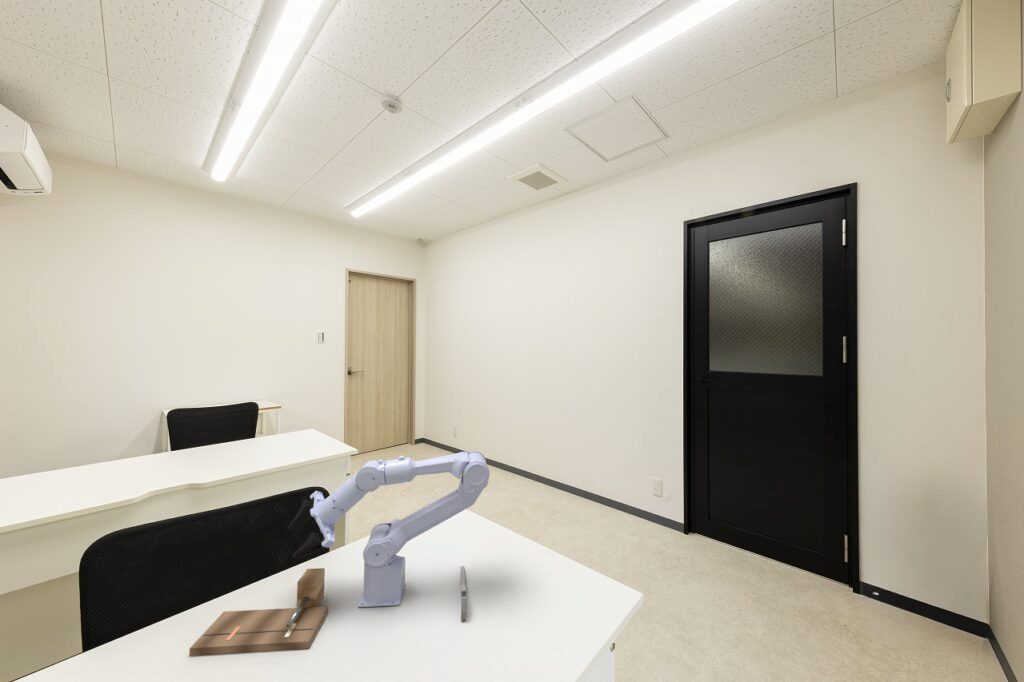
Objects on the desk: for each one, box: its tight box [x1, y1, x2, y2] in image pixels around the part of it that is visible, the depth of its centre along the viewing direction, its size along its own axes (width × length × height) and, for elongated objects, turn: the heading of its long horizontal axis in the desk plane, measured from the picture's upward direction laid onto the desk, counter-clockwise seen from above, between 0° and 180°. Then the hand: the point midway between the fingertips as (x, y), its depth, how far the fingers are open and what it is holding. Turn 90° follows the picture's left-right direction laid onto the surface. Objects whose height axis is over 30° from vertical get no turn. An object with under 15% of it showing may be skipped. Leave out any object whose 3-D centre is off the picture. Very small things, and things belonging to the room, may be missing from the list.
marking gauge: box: [287, 567, 326, 630], centre depth 83 cm, size 4×13×7 cm, turn 6°
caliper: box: [460, 565, 467, 622], centre depth 93 cm, size 20×1×6 cm, turn 8°
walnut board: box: [188, 605, 329, 657], centre depth 78 cm, size 22×10×2 cm, turn 96°
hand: (293, 543), depth 87 cm, fingers open, 7 cm apart
